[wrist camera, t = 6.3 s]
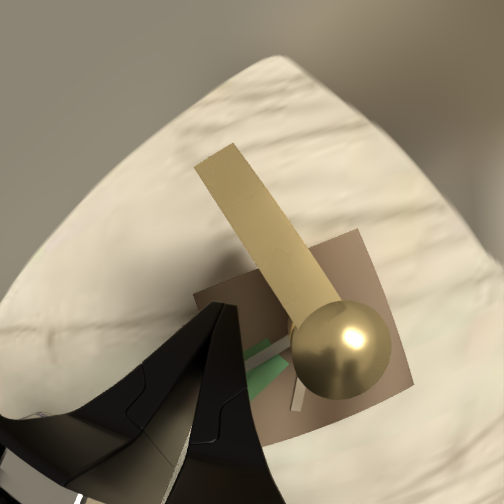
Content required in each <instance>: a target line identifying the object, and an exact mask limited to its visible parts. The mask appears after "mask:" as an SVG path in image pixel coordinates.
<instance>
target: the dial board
mask: <svg viewBox="0 0 504 504" xmlns="http://www.w3.org/2000/svg"><path fill="white" fill-rule="evenodd" d="M308 249H309V251H310V252H311V254H312V255H313V257H314V258H315V260H316V261H317V263H318V264H319V266H320V267H321V269H322V270H323V272H324V273H325V275H326V276H327V278H328V279H329V281H330V282H331V284H332V286H333V287H334V289H335V290H336V292H337V293H338V295H339V296H340V298H341V300H350V301H356V302H360V303H363V304H365V305H368V306H369V307H371V308H373V309H374V310H375V311H376V312H377V313H378V314H379V315H380V316H381V317H382V318H383V320H384V321H385V323H386V325H387V327H388V329H389V332H390V336H391V343H392V349H391V356H390V360H389V364H388V366H387V368H386V370H385V372H384V374H383V375H382V377H381V378H380V379H379V381H378V382H377V383H376V384H375V385H374V386H373V387H372V388H370V389H369V390H368V391H366V392H364V393H363V394H361V395H358V396H356V397H353V398H350V399H344V400H332V399H326V398H323V397H320V396H318V395H316V394H314V393H312V392H311V391H310V390H308V389H307V388H306V387H305V386H304V385H303V384H302V382H301V381H300V380H299V378H298V376H297V374H296V372H295V369H294V366H293V361H292V354H291V347H288V348H287V349H285V350H283V351H282V352H280V353H278V354H277V355H275V356H273V357H272V358H270V359H268V360H267V361H265V362H263V363H262V364H260V365H258V366H257V367H255V368H253V369H251V370H250V371H248V372H246V378H247V385H248V392H249V399H250V405H251V411H252V416H253V419H254V423H255V427H256V430H257V434H258V437H259V440H260V443H261V446H262V447H263V446H267V445H270V444H274V443H277V442H281V441H284V440H287V439H290V438H293V437H296V436H299V435H302V434H305V433H308V432H311V431H313V430H316V429H319V428H322V427H324V426H327V425H329V424H332V423H335V422H337V421H340V420H342V419H344V418H347V417H349V416H352V415H354V414H356V413H358V412H361V411H363V410H365V409H367V408H369V407H372V406H374V405H376V404H378V403H380V402H382V401H384V400H386V399H388V398H390V397H392V396H394V395H396V394H398V393H400V392H402V391H404V390H406V389H408V388H409V387H411V386H413V385H414V383H413V379H412V376H411V372H410V369H409V365H408V362H407V359H406V356H405V352H404V349H403V346H402V343H401V340H400V337H399V334H398V331H397V328H396V325H395V322H394V319H393V316H392V313H391V310H390V308H389V305H388V302H387V299H386V297H385V294H384V291H383V289H382V286H381V284H380V281H379V278H378V276H377V273H376V271H375V268H374V266H373V263H372V261H371V258H370V256H369V254H368V251H367V249H366V247H365V244H364V242H363V240H362V237H361V235H360V233H359V230H358V228H357V229H355V230H352V231H350V232H347V233H345V234H343V235H340V236H338V237H335V238H333V239H330V240H328V241H325V242H323V243H321V244H318V245H316V246H313V247H311V248H308ZM193 296H194V299H195V301H196V304H197V307H198V310H199V312H200V311H201V310H202V309H203V308H204V307H205V306H206V305H208V304H209V303H210V302H211V301H213V300H214V301H220V302H224V303H232V304H236V305H237V306H238V314H239V322H240V330H241V338H242V346H243V354H244V361H245V360H246V359H248V358H250V357H251V356H253V355H255V354H256V353H258V352H260V351H261V350H263V349H265V348H266V347H268V346H270V345H271V344H273V343H275V342H276V341H278V340H279V339H281V338H283V337H284V336H286V335H287V334H288V327H287V323H288V318H289V315H288V313H287V312H286V310H285V309H284V307H283V305H282V304H281V302H280V301H279V299H278V298H277V296H276V295H275V293H274V292H273V290H272V288H271V287H270V285H269V284H268V282H267V281H266V279H265V278H264V276H263V274H262V273H261V271H260V270H259V268H258V269H256V270H253V271H251V272H248V273H246V274H243V275H241V276H238V277H236V278H233V279H231V280H228V281H225V282H223V283H220V284H218V285H215V286H213V287H210V288H207V289H205V290H202V291H200V292H197V293H195V294H193Z"/></svg>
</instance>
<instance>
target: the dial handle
mask: <svg viewBox="0 0 504 504" xmlns="http://www.w3.org/2000/svg"><path fill="white" fill-rule="evenodd" d="M194 169H195V170H196V172H197V173H198V175H199V176H200V178H201V179H202V181H203V183H204V184H205V186H206V187H207V189H208V190H209V192H210V194H211V195H212V197H213V198H214V200H215V201H216V203H217V204H218V206H219V208H220V209H221V211H222V212H223V214H224V215H225V217H226V218H227V220H228V222H229V223H230V225H231V226H232V228H233V229H234V231H235V232H236V234H237V236H238V237H239V239H240V240H241V242H242V243H243V245H244V247H245V248H246V250H247V251H248V253H249V254H250V256H251V257H252V259H253V260H254V262H255V264H256V265H257V267H258V268H259V270H260V271H261V273H262V274H263V276H264V278H265V279H266V281H267V282H268V284H269V285H270V287H271V288H272V290H273V292H274V293H275V295H276V296H277V298H278V299H279V301H280V302H281V304H282V305H283V307H284V309H285V310H286V312H287V313H288V315H289V318H288V323H287V327H288V334H287V335H286V336H284V337H283V338H281V339H279V340H278V341H276V342H275V343H273V344H271V345H270V346H268V347H266V348H265V349H263V350H261V351H260V352H258V353H256V354H255V355H253V356H251V357H250V358H248V359H246V360H245V361H244V362H245V370H246V372H248V371H250V370H251V369H253V368H255V367H257V366H258V365H260V364H262V363H263V362H265V361H267V360H268V359H270V358H272V357H273V356H275V355H277V354H278V353H280V352H282V351H283V350H285V349H287V348H288V347H291V354H292V361H293V366H294V369H295V372H296V374H297V376H298V378H299V380H300V381H301V382H302V384H303V385H304V386H305V387H306V388H307V389H308V390H310V391H311V392H312V393H314V394H316V395H318V396H320V397H323V398H326V399H332V400H344V399H350V398H353V397H356V396H358V395H361V394H363V393H364V392H366V391H368V390H369V389H370V388H372V387H373V386H374V385H375V384H376V383H377V382H378V381H379V379H380V378H381V377H382V375H383V374H384V372H385V370H386V368H387V366H388V364H389V360H390V356H391V349H392V343H391V336H390V332H389V329H388V327H387V325H386V323H385V321H384V320H383V318H382V317H381V316H380V315H379V314H378V313H377V312H376V311H375V310H374V309H373V308H371V307H369V306H368V305H365V304H363V303H360V302H356V301H350V300H341V298H340V296H339V295H338V293H337V292H336V290H335V289H334V287H333V286H332V284H331V282H330V281H329V279H328V278H327V276H326V275H325V273H324V272H323V270H322V269H321V267H320V266H319V264H318V263H317V261H316V260H315V258H314V257H313V255H312V254H311V252H310V251H309V249H308V248H307V246H306V245H305V243H304V242H303V240H302V239H301V237H300V236H299V234H298V233H297V231H296V230H295V229H294V227H293V226H292V224H291V223H290V221H289V220H288V218H287V217H286V215H285V214H284V213H283V211H282V210H281V208H280V207H279V205H278V204H277V203H276V201H275V200H274V198H273V197H272V196H271V194H270V193H269V191H268V190H267V189H266V187H265V186H264V184H263V183H262V182H261V180H260V179H259V177H258V176H257V175H256V173H255V172H254V170H253V169H252V168H251V166H250V165H249V164H248V162H247V161H246V160H245V158H244V157H243V155H242V154H241V153H240V151H239V150H238V149H237V147H236V146H235V145H234V143H232V144H230V145H228V146H227V147H225V148H223V149H222V150H220V151H218V152H217V153H215V154H214V155H212V156H210V157H209V158H207V159H206V160H204V161H203V162H201V163H199V164H198V165H196V166H195V167H194Z"/></svg>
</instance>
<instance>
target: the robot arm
mask: <svg viewBox="0 0 504 504" xmlns="http://www.w3.org/2000/svg"><path fill="white" fill-rule="evenodd" d="M192 423H193V424H192ZM191 426H192V428H191ZM190 428H191V433H190V438H189V443H188V444H189V445H188V448H187V453H186V456H185V460H184V463H183V465H182V467H181V470H180V472H179V474H178V476H177V478H176V481H175V483H174V485H173V487H172V489H171V492H170V494H169V496H168V498H167V500H166V502H165V504H286V503H285V501H284V499H283V497H282V495H281V493H280V491H279V489H278V487H277V486H276V484H275V482H274V479H273V477H272V475H271V472H270V470H269V467H268V464H267V461H266V458H265V455H264V452H263V449H262V446H261V443H260V440H259V437H258V434H257V430H256V427H255V423H254V419H253V416H252V411H251V405H250V399H249V392H248V385H247V378H246V370H245V362H244V354H243V346H242V338H241V330H240V322H239V314H238V306H237V305H236V304H232V303H224V302H220V301H214V300H213V301H211V302H210V303H209V304H208V305H206V306H205V307H204V308H203V309H202V310H201V311H200V312H199V313H197V314H196V315H195V316H194V317H193V318H192V319H191V320H190V321H188V322H187V323H186V324H185V325H184V326H183V327H182V328H181V329H179V330H178V331H177V332H176V333H175V334H174V335H173V336H171V337H170V338H169V339H168V340H167V341H166V342H165V343H163V344H162V345H161V346H160V347H159V348H158V349H157V350H156V351H154V352H153V353H152V354H151V355H150V356H149V357H148V358H146V359H145V360H144V361H143V362H142V364H139V365H138V366H137V367H136V368H135V369H134V370H133V371H131V372H130V373H129V374H128V375H126V376H125V377H124V378H123V379H122V380H120V381H119V382H117V383H116V384H115V385H113V386H112V387H110V388H109V389H108V390H106V391H105V392H103V393H102V394H100V395H99V396H97V397H96V398H94V399H93V400H91V401H90V402H88V403H87V404H85V405H84V406H82V407H80V408H79V409H77V410H75V411H72V412H69V413H66V414H61V415H54V416H46V417H38V418H30V419H20V420H14V419H8V418H5V417H3V416H2V415H1V414H0V504H161V502H162V500H163V497H164V495H165V492H166V490H167V487H168V484H169V482H170V479H171V477H172V474H173V472H174V468H175V467H176V464H177V461H178V459H179V456H180V454H181V451H182V449H183V446H184V444H185V441H186V438H187V436H188V433H189V431H190Z"/></svg>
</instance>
